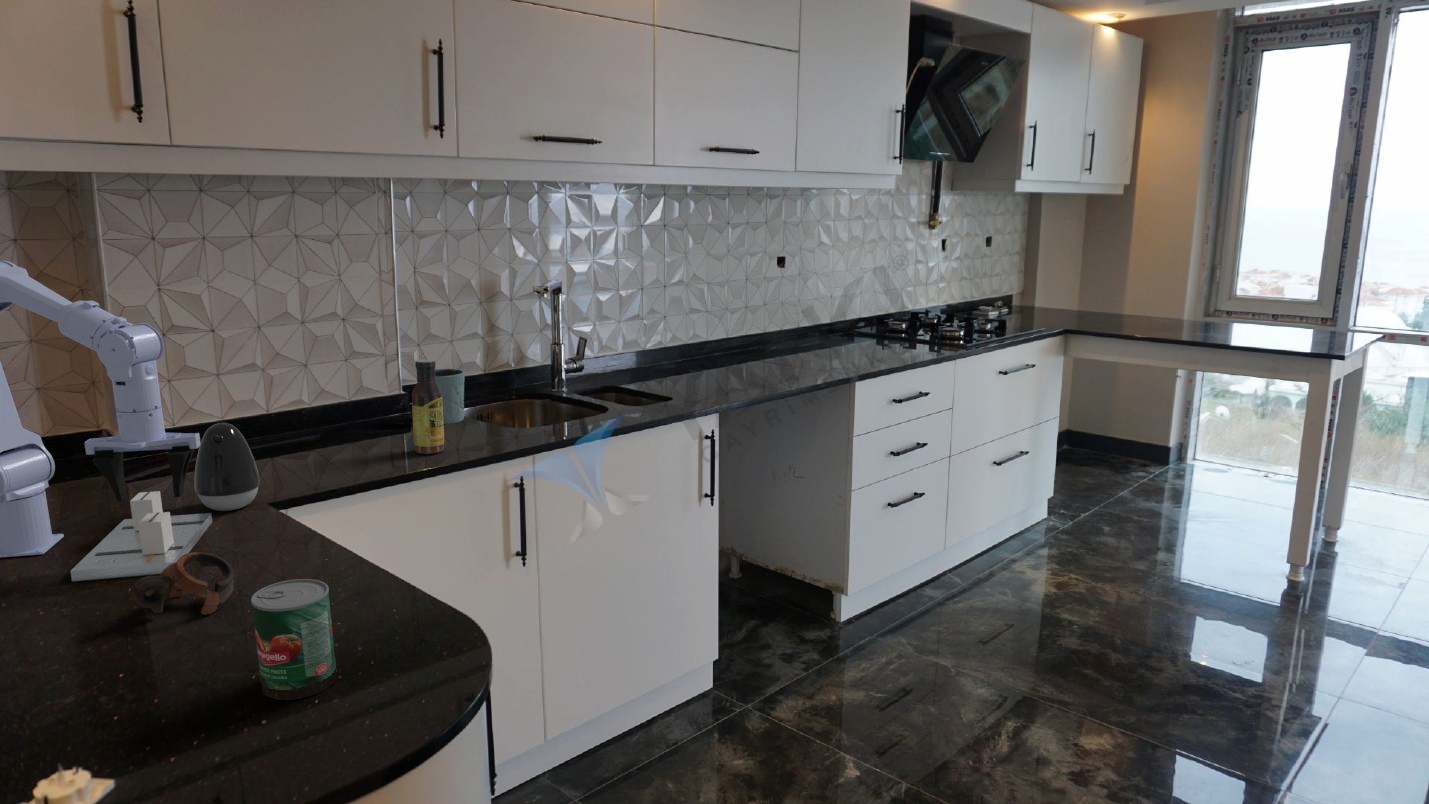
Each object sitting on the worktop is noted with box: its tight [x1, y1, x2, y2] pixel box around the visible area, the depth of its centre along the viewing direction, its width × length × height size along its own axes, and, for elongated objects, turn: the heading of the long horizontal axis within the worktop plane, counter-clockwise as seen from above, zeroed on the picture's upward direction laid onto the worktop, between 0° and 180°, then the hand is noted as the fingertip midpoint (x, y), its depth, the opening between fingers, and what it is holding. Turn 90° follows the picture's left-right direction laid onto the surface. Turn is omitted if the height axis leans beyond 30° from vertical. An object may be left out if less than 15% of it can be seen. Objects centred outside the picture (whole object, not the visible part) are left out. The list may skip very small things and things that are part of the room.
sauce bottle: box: [411, 359, 445, 455], centre depth 197 cm, size 6×6×20 cm
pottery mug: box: [131, 551, 235, 616], centre depth 122 cm, size 12×10×8 cm
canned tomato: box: [250, 578, 337, 690], centre depth 103 cm, size 8×8×11 cm
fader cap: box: [138, 511, 174, 555], centre depth 138 cm, size 3×4×5 cm
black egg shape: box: [193, 422, 261, 512], centre depth 161 cm, size 10×10×15 cm
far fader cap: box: [129, 490, 164, 531], centre depth 148 cm, size 3×4×5 cm
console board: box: [70, 512, 213, 582], centre depth 143 cm, size 13×22×2 cm, turn 15°
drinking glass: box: [435, 367, 465, 425], centre depth 225 cm, size 10×10×12 cm
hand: (150, 497), depth 137 cm, fingers open, 7 cm apart
